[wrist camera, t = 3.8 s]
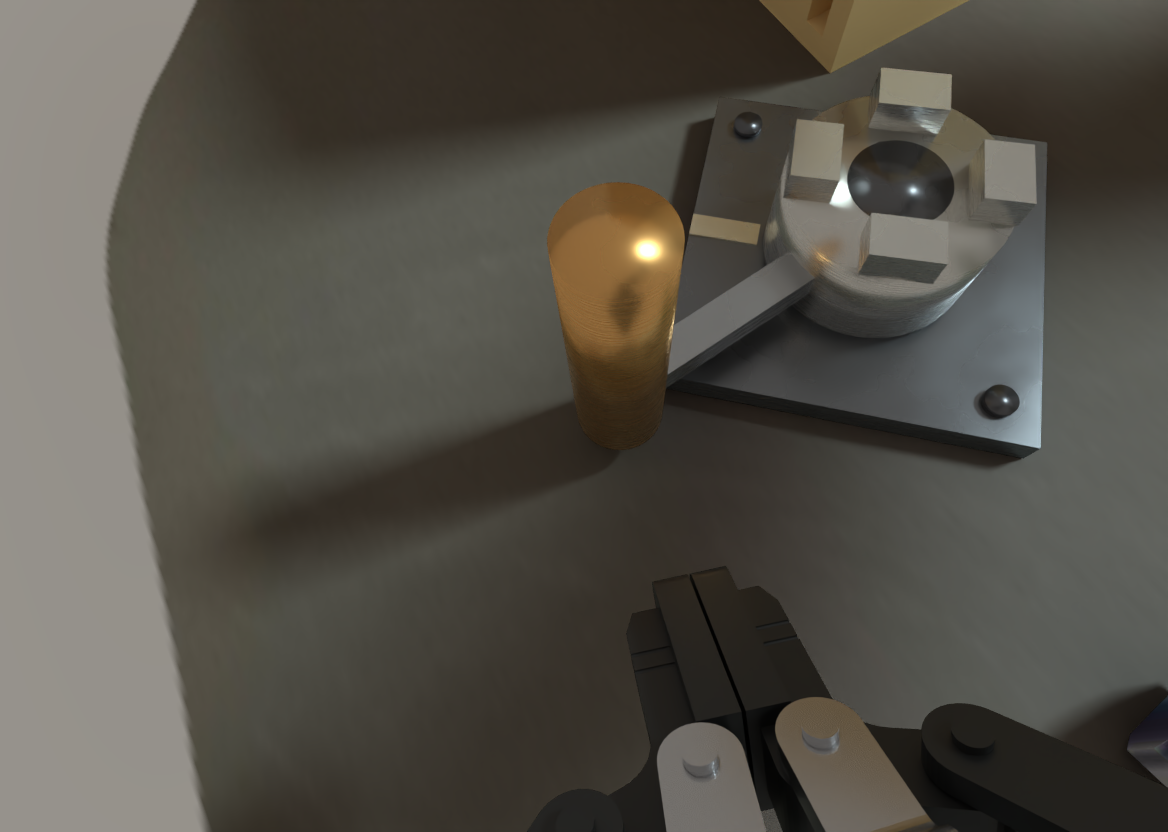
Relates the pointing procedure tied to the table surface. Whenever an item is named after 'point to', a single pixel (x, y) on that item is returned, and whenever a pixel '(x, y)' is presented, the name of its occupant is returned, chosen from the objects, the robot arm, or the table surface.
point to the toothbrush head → (1152, 742)
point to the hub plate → (859, 364)
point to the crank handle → (790, 248)
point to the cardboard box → (852, 24)
